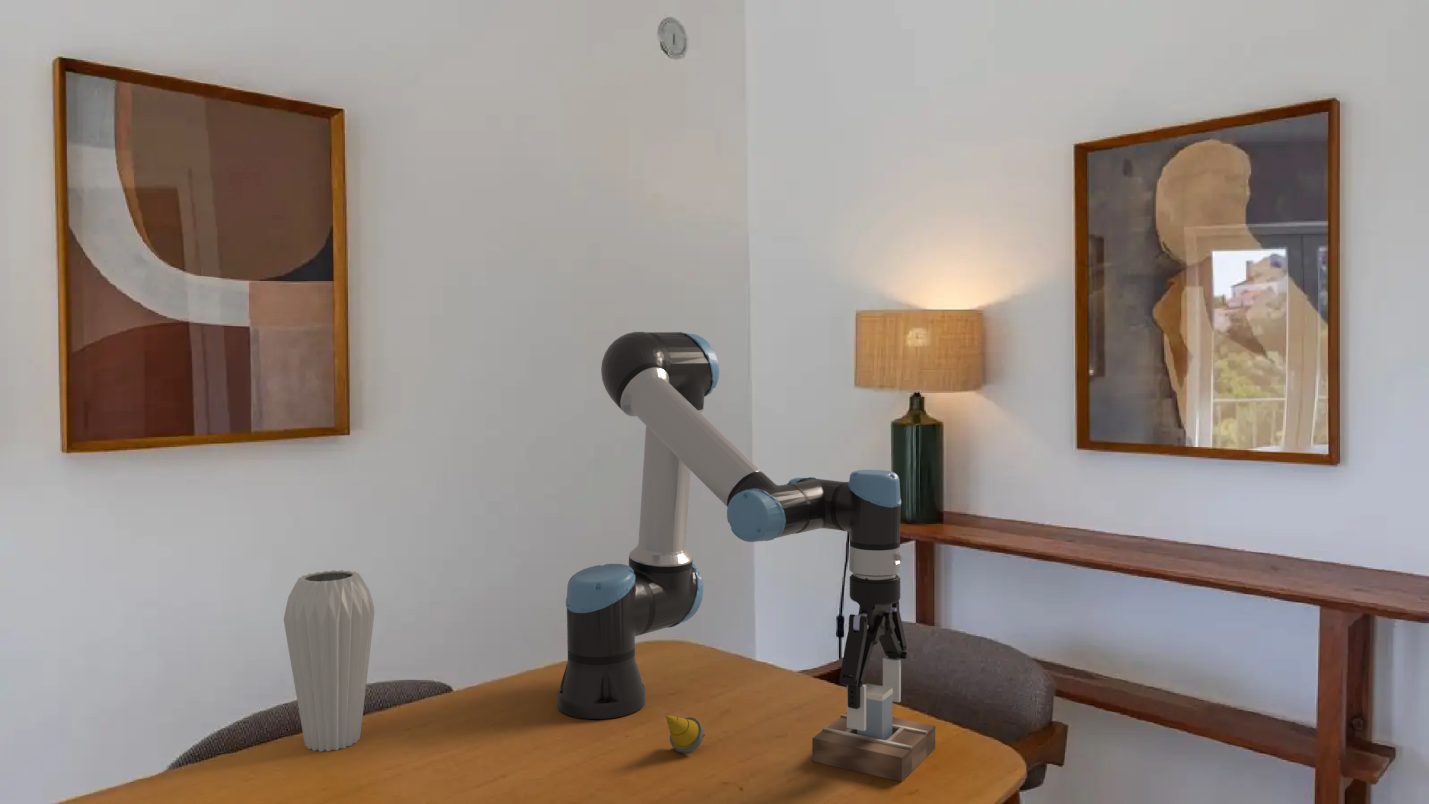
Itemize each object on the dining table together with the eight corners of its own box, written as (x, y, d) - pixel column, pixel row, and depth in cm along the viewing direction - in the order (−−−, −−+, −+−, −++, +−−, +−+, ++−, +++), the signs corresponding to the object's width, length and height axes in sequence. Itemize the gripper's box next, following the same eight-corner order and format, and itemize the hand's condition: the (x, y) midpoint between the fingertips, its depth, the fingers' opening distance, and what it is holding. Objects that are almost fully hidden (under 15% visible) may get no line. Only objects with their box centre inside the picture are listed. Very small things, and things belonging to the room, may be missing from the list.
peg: (856, 756, 148) (856, 691, 147) (867, 747, 151) (867, 683, 151) (882, 762, 145) (882, 696, 145) (892, 753, 149) (892, 688, 148)
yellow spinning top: (714, 754, 150) (683, 724, 144) (683, 766, 151) (651, 737, 145) (709, 723, 154) (680, 693, 148) (679, 735, 155) (649, 706, 149)
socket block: (812, 761, 146) (812, 736, 146) (851, 730, 158) (850, 707, 158) (901, 782, 139) (901, 755, 138) (935, 748, 151) (935, 723, 150)
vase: (395, 733, 158) (392, 571, 157) (331, 764, 146) (327, 589, 145) (334, 721, 164) (330, 564, 162) (267, 750, 152) (262, 581, 150)
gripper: (865, 594, 134) (865, 747, 135) (927, 561, 156) (927, 693, 157) (815, 588, 138) (815, 736, 139) (883, 556, 160) (883, 685, 161)
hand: (874, 714), depth 148 cm, fingers open, 13 cm apart
